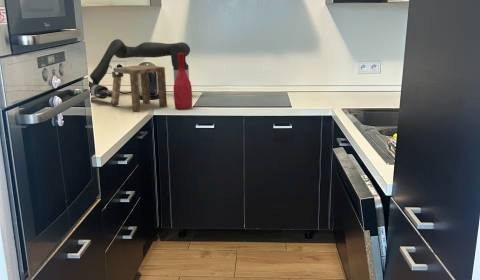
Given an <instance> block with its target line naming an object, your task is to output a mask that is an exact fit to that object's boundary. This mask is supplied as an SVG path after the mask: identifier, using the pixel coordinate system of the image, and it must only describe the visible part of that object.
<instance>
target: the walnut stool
mask: <svg viewBox="0 0 480 280" xmlns="http://www.w3.org/2000/svg"><path fill="white" fill-rule="evenodd" d="M112 70H113V71H112V72H111V75H112V76H111V77H112V78H113V79H114V78H116V74H117V73H118V74H121V78H123V77H124V74H126V75H127V74H128V75H129V80H130V91H131V92H130V94H131V108H132V112H133V113H140V112H141V111H142V110H141V97H140V88H139V87H140V84H139V75H140V77H141V78H140V79H141V80H140V81H141V92H142V93H141V94H142V95H141V96H142V104H144V103H145V104H146V105H148V104H151V93H150V80H149V74H150V73H156V76H157V89H158V105H159V108H168V104H167V103H168V101H167V100H168V99H167V83H166V82H167V81H166V67H165V66H159V65H148V64H142V65H141V64H139V65H131V66H130V65H129V66H123V67H122V66H121V67H113V69H112ZM145 104H144V105H145Z"/></svg>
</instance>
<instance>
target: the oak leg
mask: <svg viewBox="0 0 480 280" xmlns="http://www.w3.org/2000/svg"><path fill="white" fill-rule="evenodd" d="M121 82H122V77H121V74H120V73H116V78H113V80H112V90H111V91H112V98H111V97H110V98H111V99H110V104H111V105H112V106H119V103H120V102H119V101H120V93H121V84H122V83H121Z"/></svg>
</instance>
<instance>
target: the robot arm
mask: <svg viewBox="0 0 480 280" xmlns="http://www.w3.org/2000/svg"><path fill="white" fill-rule="evenodd" d="M178 53H184V68H185V72H186V74H187V76H188V78H189V79H190V74H189V73H190V71H189V70H190V69H189V67H190V66H189V64H188V63H187V60H186V59H187V58H186V57H188V55H189V54H190V53H191V49H190V46H189V45H188V43H185V42H182V41H181V42H175V43H174V42H173V43H164V42H155V41H153V42H152V41H151V42H150V41H149V42H148V41H145V42H142V43H139V44H138V45H136V46H127V45H126V44H125V43H124V41H122V39H119V38H118V39H117V38H116V39H114V40H112V41H111V42H110V44H109V45H108V47H107V49H106V51H105V52H104V55H102V58H101V60H100V61H99V62H98V64H97V65H96V67H95V68H94V69H93V71H92V72H91V73H90V75H89V78H90V79H91V80H92V82H91V81H90V80H88V81H89V87H90V93H91V96H93V97H95V98H99V99H101V100H104V99H107V98H112V90H109V88H108V87H106V86H104V85H101V84H100V82H101V80H103V78H104V77H105V76H106V75H107V73H108V70H109V66H110V64H111V60H112V59H113V57H114V56H115V57H116V58H118V59H127V58H162V57H169V56H170V59H171V66H172V68H173V69H172V70H173V83H174V82H175V79H176V76H177V74H178V70H179V62H178ZM190 83H191V81H190ZM91 96H90V97H91Z"/></svg>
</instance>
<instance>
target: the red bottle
mask: <svg viewBox="0 0 480 280" xmlns="http://www.w3.org/2000/svg"><path fill="white" fill-rule="evenodd" d="M178 62H179V70H178V74H177V76H176V79H175V82H174V81H173V101H174V109H176V110H189V109H191V108H192V107H193V88H192V84H191V83H190V82H191V81H190V77H189V78H188V76H187V74H186V72H185V68H184V53H178Z"/></svg>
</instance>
